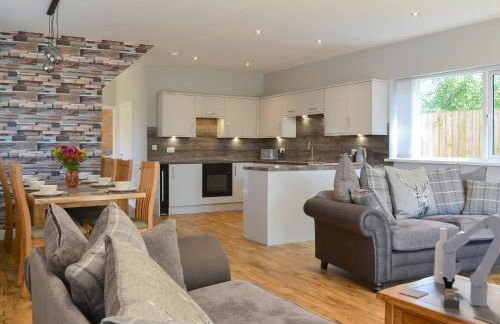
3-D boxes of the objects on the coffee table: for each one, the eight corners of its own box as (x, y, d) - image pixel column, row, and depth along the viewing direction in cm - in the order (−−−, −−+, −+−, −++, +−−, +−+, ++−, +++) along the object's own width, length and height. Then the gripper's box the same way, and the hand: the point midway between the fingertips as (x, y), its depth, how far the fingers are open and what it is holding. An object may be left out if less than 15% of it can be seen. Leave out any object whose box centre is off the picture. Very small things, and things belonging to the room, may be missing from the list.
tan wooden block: (445, 298, 228) (445, 288, 228) (452, 299, 227) (452, 289, 227) (447, 304, 220) (447, 294, 219) (454, 305, 219) (454, 294, 218)
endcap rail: (441, 298, 230) (441, 289, 230) (455, 300, 228) (456, 290, 228) (444, 309, 215) (444, 299, 215) (459, 310, 213) (459, 300, 213)
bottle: (450, 284, 254) (452, 229, 253) (435, 283, 256) (437, 229, 255) (447, 280, 262) (449, 227, 261) (432, 279, 264) (434, 226, 263)
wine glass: (462, 291, 243) (463, 262, 243) (446, 290, 243) (447, 262, 243) (455, 286, 251) (456, 258, 251) (440, 286, 251) (441, 258, 251)
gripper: (439, 260, 240) (438, 287, 241) (441, 267, 226) (440, 295, 227) (454, 262, 238) (453, 288, 238) (457, 269, 224) (456, 297, 225)
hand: (448, 292), depth 232 cm, fingers closed
